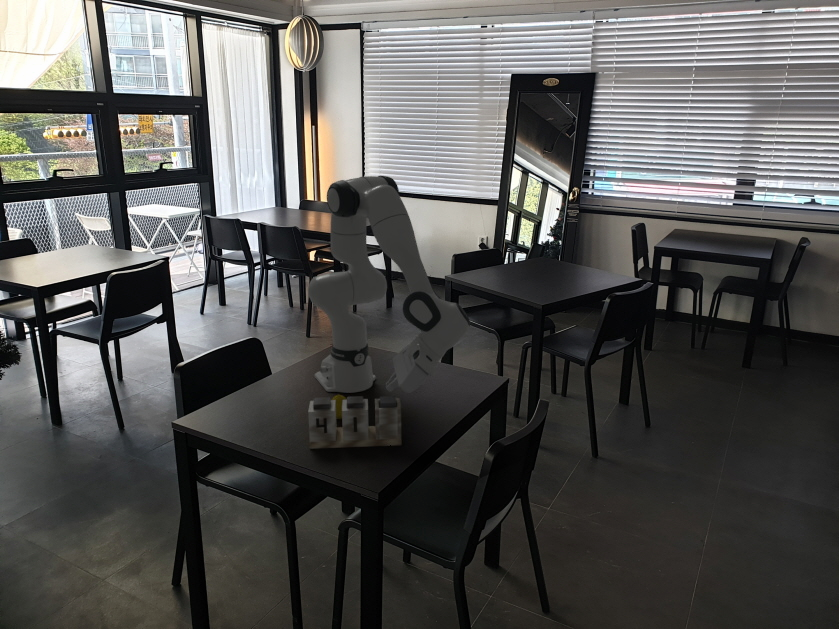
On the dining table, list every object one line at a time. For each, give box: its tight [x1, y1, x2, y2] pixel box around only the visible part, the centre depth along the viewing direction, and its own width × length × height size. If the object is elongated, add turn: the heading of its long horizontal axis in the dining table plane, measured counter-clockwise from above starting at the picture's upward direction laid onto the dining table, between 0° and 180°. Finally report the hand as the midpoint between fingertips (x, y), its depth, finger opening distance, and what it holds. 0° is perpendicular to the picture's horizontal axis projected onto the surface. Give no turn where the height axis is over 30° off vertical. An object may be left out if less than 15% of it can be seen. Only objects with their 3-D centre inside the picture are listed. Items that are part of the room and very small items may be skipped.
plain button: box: [379, 395, 397, 408], centre depth 179 cm, size 4×4×6 cm
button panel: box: [307, 395, 403, 450], centre depth 179 cm, size 25×9×12 cm, turn 95°
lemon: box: [331, 393, 347, 420], centre depth 191 cm, size 6×6×8 cm
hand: (387, 388), depth 177 cm, fingers closed
